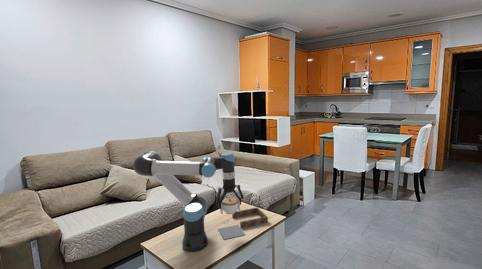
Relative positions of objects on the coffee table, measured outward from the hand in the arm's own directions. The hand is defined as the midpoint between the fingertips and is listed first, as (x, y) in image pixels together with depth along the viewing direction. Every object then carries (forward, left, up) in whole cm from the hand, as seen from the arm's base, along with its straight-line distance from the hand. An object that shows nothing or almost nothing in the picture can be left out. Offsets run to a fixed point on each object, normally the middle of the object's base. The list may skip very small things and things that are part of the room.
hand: (230, 211), depth 171 cm
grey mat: (0, 0, -14) cm, 14 cm away
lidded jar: (0, 0, -1) cm, 1 cm away
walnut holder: (+18, +11, -14) cm, 25 cm away
